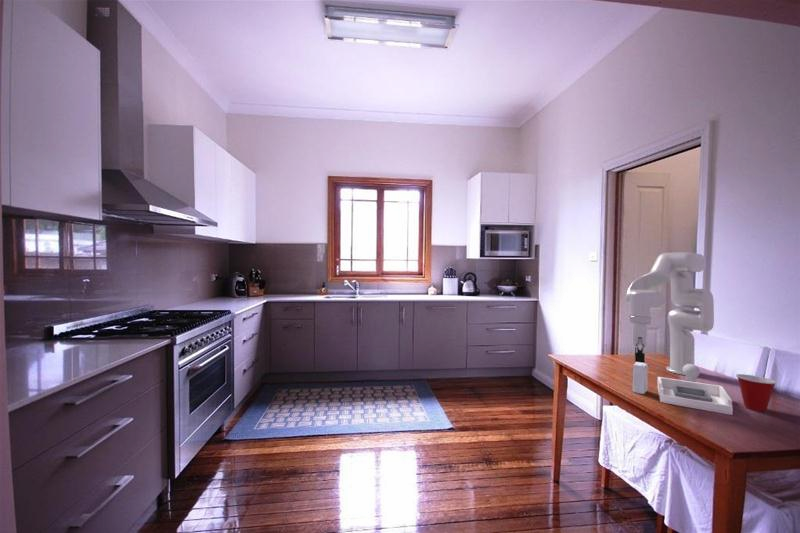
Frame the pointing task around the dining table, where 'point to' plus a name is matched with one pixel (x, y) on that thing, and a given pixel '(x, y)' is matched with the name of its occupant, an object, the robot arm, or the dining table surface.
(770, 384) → the plastic cup
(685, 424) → the dining table surface
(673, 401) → the walled box
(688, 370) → the light bulb
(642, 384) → the skincare box
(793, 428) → the dining table surface
